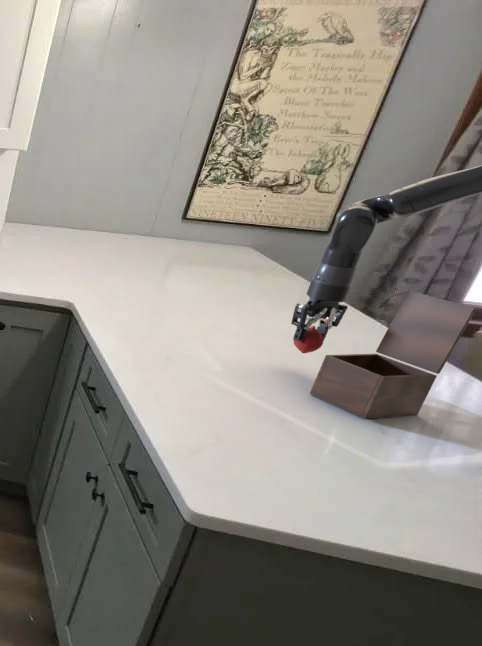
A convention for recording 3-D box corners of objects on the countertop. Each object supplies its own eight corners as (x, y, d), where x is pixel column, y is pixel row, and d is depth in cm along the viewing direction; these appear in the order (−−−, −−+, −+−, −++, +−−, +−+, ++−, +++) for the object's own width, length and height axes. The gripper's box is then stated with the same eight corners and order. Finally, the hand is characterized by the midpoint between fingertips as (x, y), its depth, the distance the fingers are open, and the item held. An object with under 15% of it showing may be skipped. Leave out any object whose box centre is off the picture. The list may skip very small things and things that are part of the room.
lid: (474, 308, 141) (489, 309, 142) (408, 290, 153) (422, 292, 154) (436, 373, 147) (451, 374, 148) (375, 351, 158) (389, 352, 159)
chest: (365, 418, 148) (384, 377, 144) (309, 393, 160) (325, 354, 156) (416, 416, 151) (437, 375, 147) (358, 391, 162) (375, 353, 159)
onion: (322, 359, 167) (333, 331, 164) (295, 356, 168) (305, 328, 166) (311, 350, 172) (321, 323, 169) (285, 347, 174) (295, 320, 171)
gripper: (324, 286, 158) (300, 347, 164) (370, 285, 161) (345, 345, 167) (294, 277, 165) (271, 336, 171) (338, 276, 168) (315, 335, 174)
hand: (308, 340), depth 169 cm, fingers closed on onion, 6 cm apart
